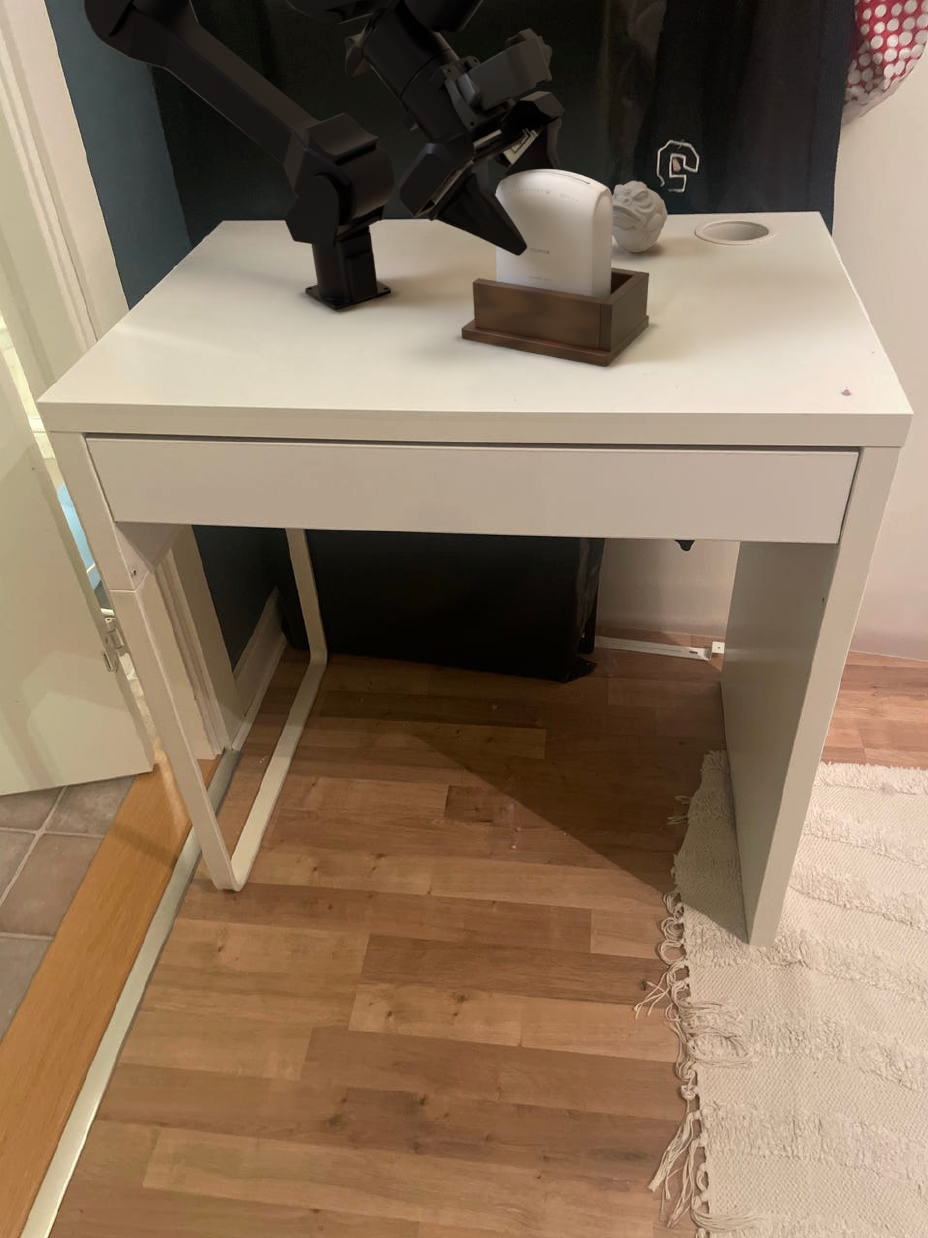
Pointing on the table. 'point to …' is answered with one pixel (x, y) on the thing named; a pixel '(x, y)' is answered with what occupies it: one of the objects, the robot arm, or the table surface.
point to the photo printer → (558, 232)
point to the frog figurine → (637, 216)
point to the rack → (561, 318)
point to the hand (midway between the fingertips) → (549, 234)
